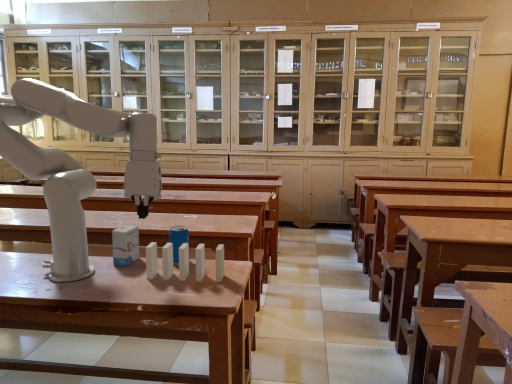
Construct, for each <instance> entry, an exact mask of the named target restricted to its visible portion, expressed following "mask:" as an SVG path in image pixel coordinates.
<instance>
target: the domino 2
mask: <svg viewBox="0 0 512 384" xmlns="http://www.w3.org/2000/svg"><path fill="white" fill-rule="evenodd" d="M161 252H162V253H161V254H162V277H163V278H162V279H163V281H169V280H170V279H171V277H172V276H173V275H174V264H173V243H169V242H166V244H165V245H163V246H162V248H161Z"/></svg>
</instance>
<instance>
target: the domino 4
mask: <svg viewBox="0 0 512 384" xmlns="http://www.w3.org/2000/svg"><path fill="white" fill-rule="evenodd" d="M205 246H206V245H205V243H199V244H198V245H197V246H196V248H195V281H196V282H202V281H203V279H204V277H205V275H206V261H205V260H206V257H205V255H206V254H205V252H206V251H205V250H206V249H205Z"/></svg>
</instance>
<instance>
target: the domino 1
mask: <svg viewBox="0 0 512 384" xmlns="http://www.w3.org/2000/svg"><path fill="white" fill-rule="evenodd" d="M145 261H146V262H145V264H146V266H145V267H146V280H153V279H154V278H155V277H156V276H157V274H158V273H159V269H158V268H159V267H158V266H159V264H158V243H157V242H156V241H155V242H154V241H151V242H150V243H149V244H148V245H147V246H145Z"/></svg>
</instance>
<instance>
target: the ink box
mask: <svg viewBox="0 0 512 384" xmlns="http://www.w3.org/2000/svg"><path fill="white" fill-rule="evenodd" d="M139 230H140V228H139V225H131V224H128V225H127V224H125V225H123V226H120V227H118V228H115V229H113V230H112V231H111V232H112V233H111V235H112V256H113V257H112V263H113V266H121V267H122V266H123V267H127V266H129V265H130V264H132V263H133V262H135V261H136V260H138V259H140V237H139Z"/></svg>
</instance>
